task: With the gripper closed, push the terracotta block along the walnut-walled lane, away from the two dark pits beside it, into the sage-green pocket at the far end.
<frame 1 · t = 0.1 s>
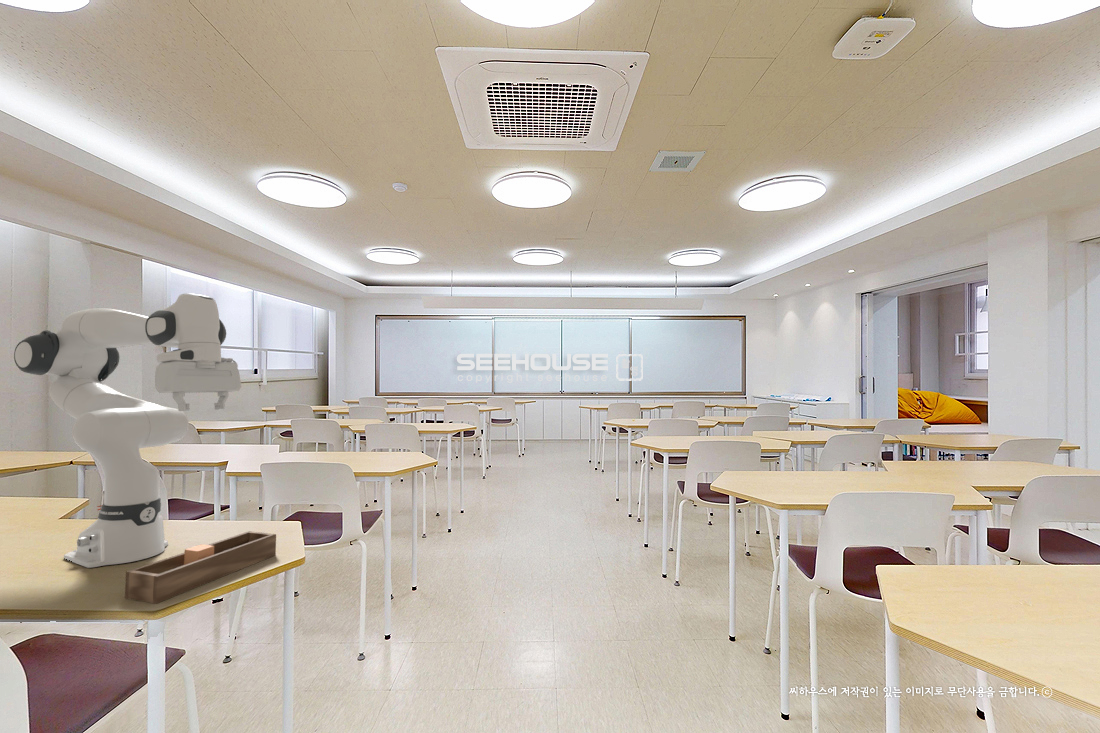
hand: (202, 410, 124), 39 cm above the table, tool pointing down, fingers open, 8 cm apart
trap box: (208, 574, 116), on the table
block: (199, 565, 114), point 3 cm above the table, touching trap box
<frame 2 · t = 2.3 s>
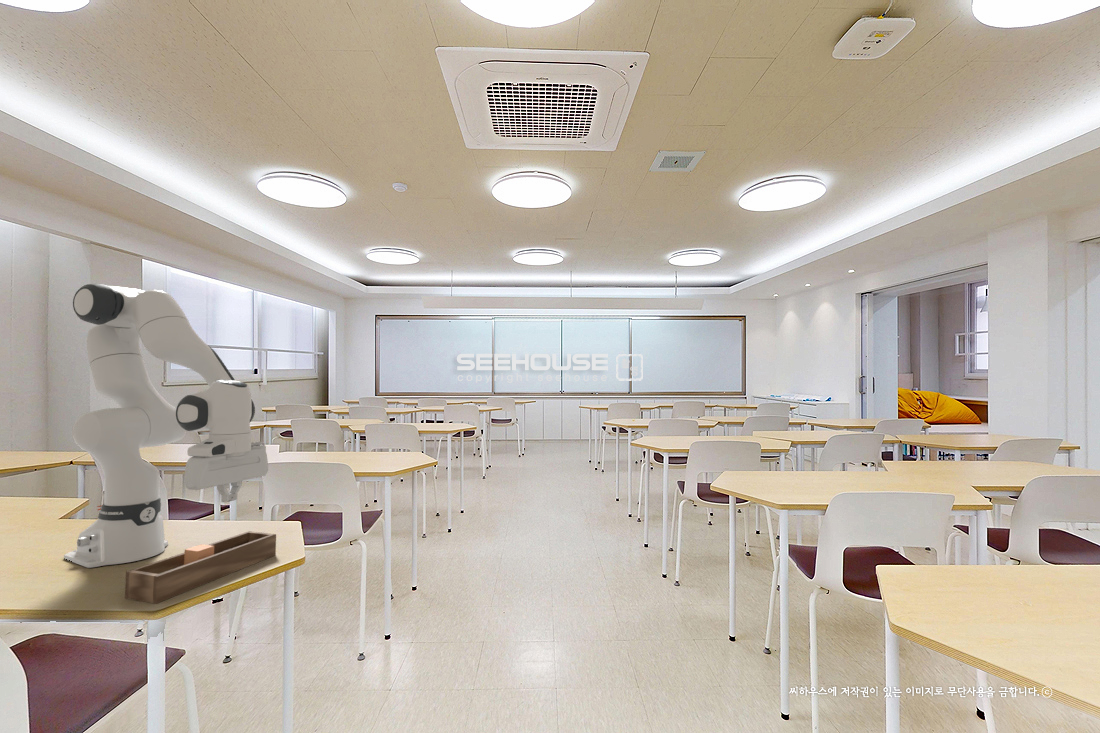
hand: (229, 501, 121), 16 cm above the table, tool pointing down, fingers closed
nothing on the table moved.
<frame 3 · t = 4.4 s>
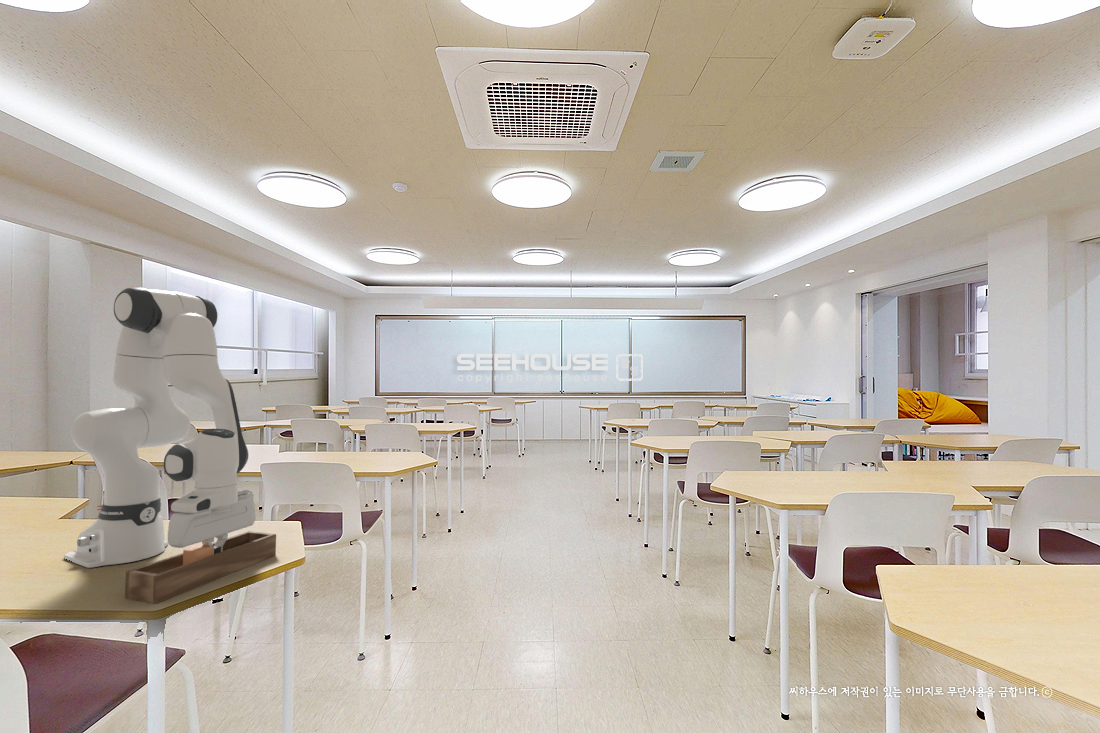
hand: (214, 554, 117), 4 cm above the table, tool pointing down, fingers closed
block: (197, 565, 113), point 3 cm above the table, touching gripper, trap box
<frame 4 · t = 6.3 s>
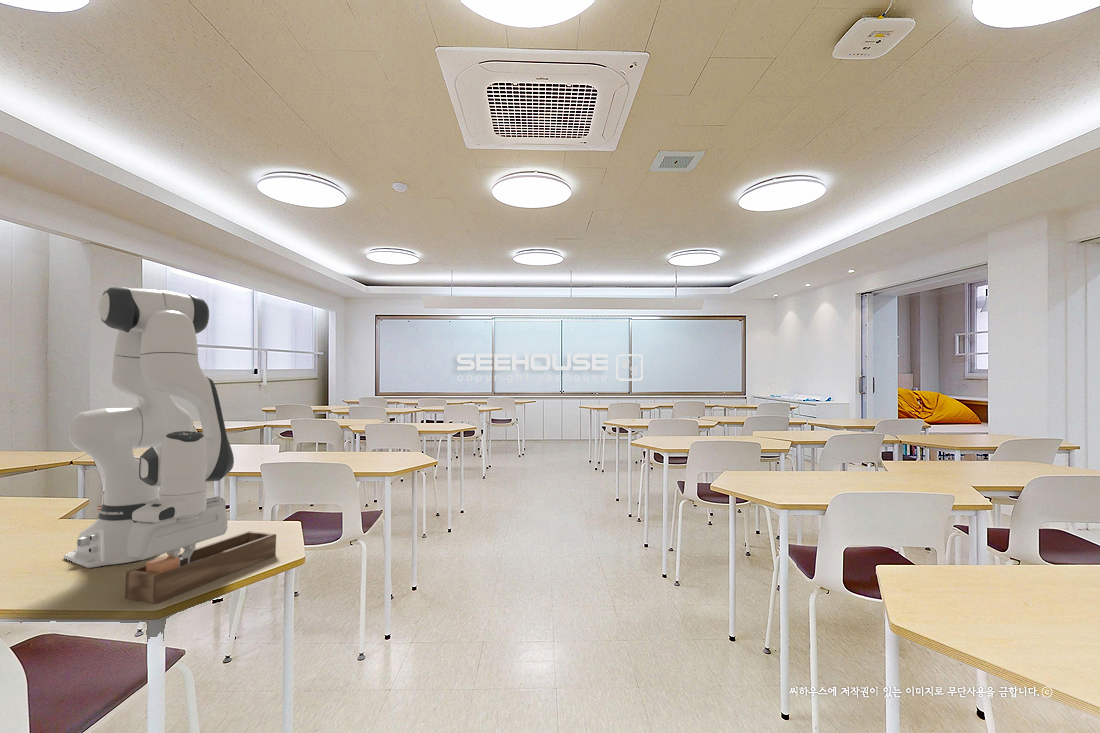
hand: (180, 566, 109), 4 cm above the table, tool pointing down, fingers closed
block: (162, 578, 105), point 3 cm above the table, touching gripper, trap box
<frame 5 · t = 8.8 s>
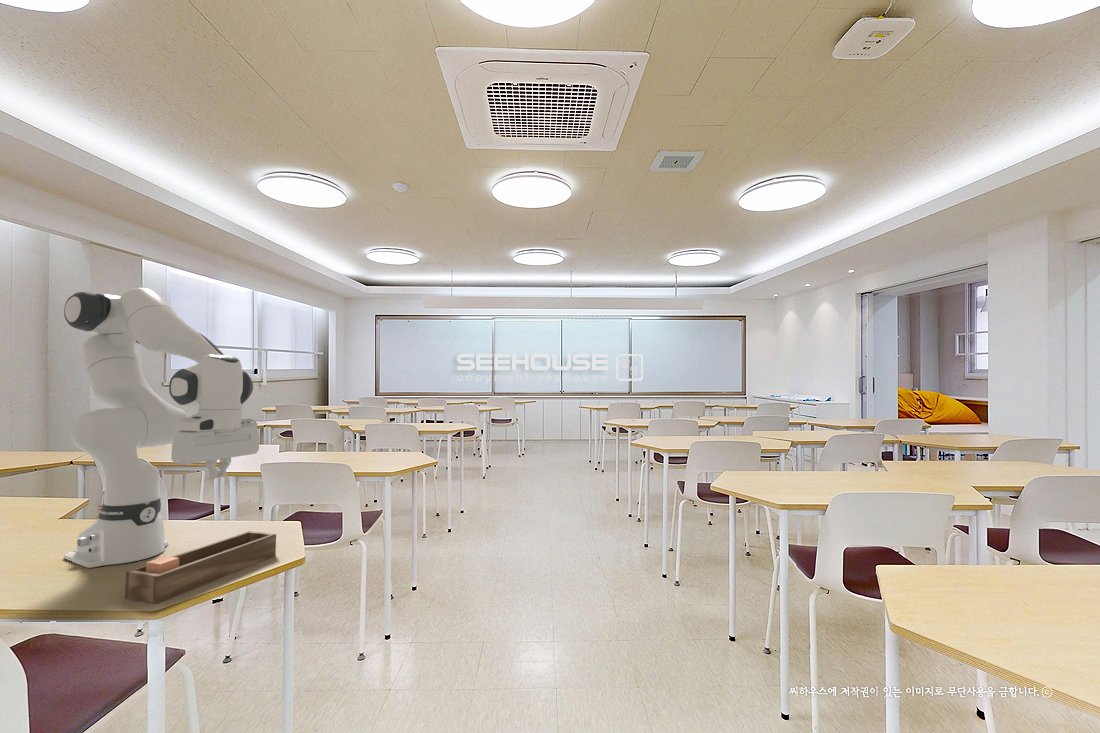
hand: (217, 477, 119), 22 cm above the table, tool pointing down, fingers closed
block: (162, 578, 105), point 3 cm above the table, touching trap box
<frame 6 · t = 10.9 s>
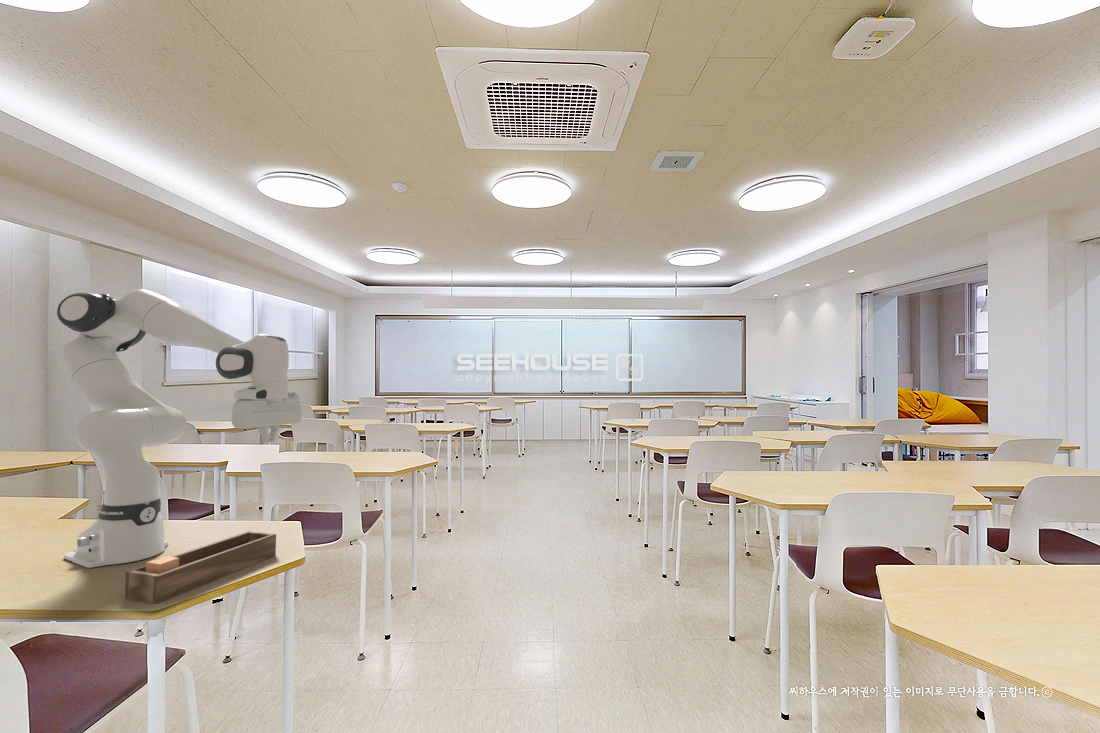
hand: (268, 442, 135), 29 cm above the table, tool pointing down, fingers closed
nothing on the table moved.
at the end: block 0.9 cm from the target spot on the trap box, point 3.0 cm above the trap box's base; block tilted 0°; block moved 8.4 cm from its start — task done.
